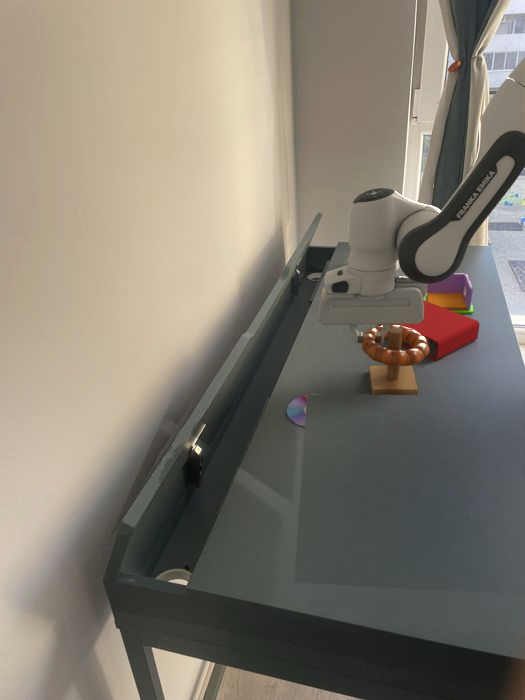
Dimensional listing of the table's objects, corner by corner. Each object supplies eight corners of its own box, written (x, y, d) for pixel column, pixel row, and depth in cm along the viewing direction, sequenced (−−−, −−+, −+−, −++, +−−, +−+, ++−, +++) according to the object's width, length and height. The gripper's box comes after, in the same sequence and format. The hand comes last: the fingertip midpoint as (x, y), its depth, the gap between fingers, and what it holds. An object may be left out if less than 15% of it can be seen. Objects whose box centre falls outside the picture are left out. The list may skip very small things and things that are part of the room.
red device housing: (378, 333, 130) (378, 315, 127) (417, 315, 136) (418, 298, 134) (436, 361, 117) (438, 342, 114) (477, 340, 123) (480, 321, 121)
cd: (355, 408, 104) (355, 407, 104) (317, 436, 97) (317, 435, 97) (311, 387, 111) (311, 387, 111) (274, 412, 105) (274, 412, 104)
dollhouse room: (467, 294, 145) (470, 271, 141) (474, 314, 135) (478, 289, 131) (422, 294, 147) (424, 271, 144) (425, 313, 137) (428, 289, 133)
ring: (421, 336, 112) (424, 324, 110) (432, 371, 101) (435, 357, 99) (359, 333, 113) (360, 320, 112) (362, 367, 102) (364, 353, 100)
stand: (411, 371, 114) (415, 319, 108) (417, 395, 106) (422, 341, 100) (369, 371, 115) (371, 320, 109) (372, 395, 107) (374, 341, 101)
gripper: (425, 270, 101) (419, 333, 108) (318, 272, 104) (319, 334, 110) (430, 283, 95) (424, 349, 102) (317, 285, 98) (318, 349, 105)
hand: (368, 341), depth 106 cm, fingers closed on ring, 3 cm apart
